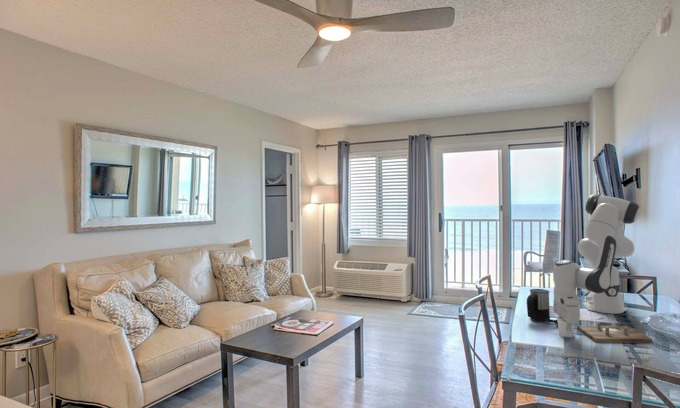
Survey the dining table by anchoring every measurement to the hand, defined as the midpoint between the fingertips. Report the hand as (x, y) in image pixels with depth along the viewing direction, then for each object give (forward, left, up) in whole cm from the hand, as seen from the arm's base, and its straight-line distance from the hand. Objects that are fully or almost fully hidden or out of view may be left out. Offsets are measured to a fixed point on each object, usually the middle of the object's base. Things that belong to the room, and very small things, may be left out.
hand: (566, 328), depth 185 cm
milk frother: (-20, -2, -3) cm, 20 cm away
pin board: (0, +19, -3) cm, 19 cm away
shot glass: (0, 0, -3) cm, 3 cm away
